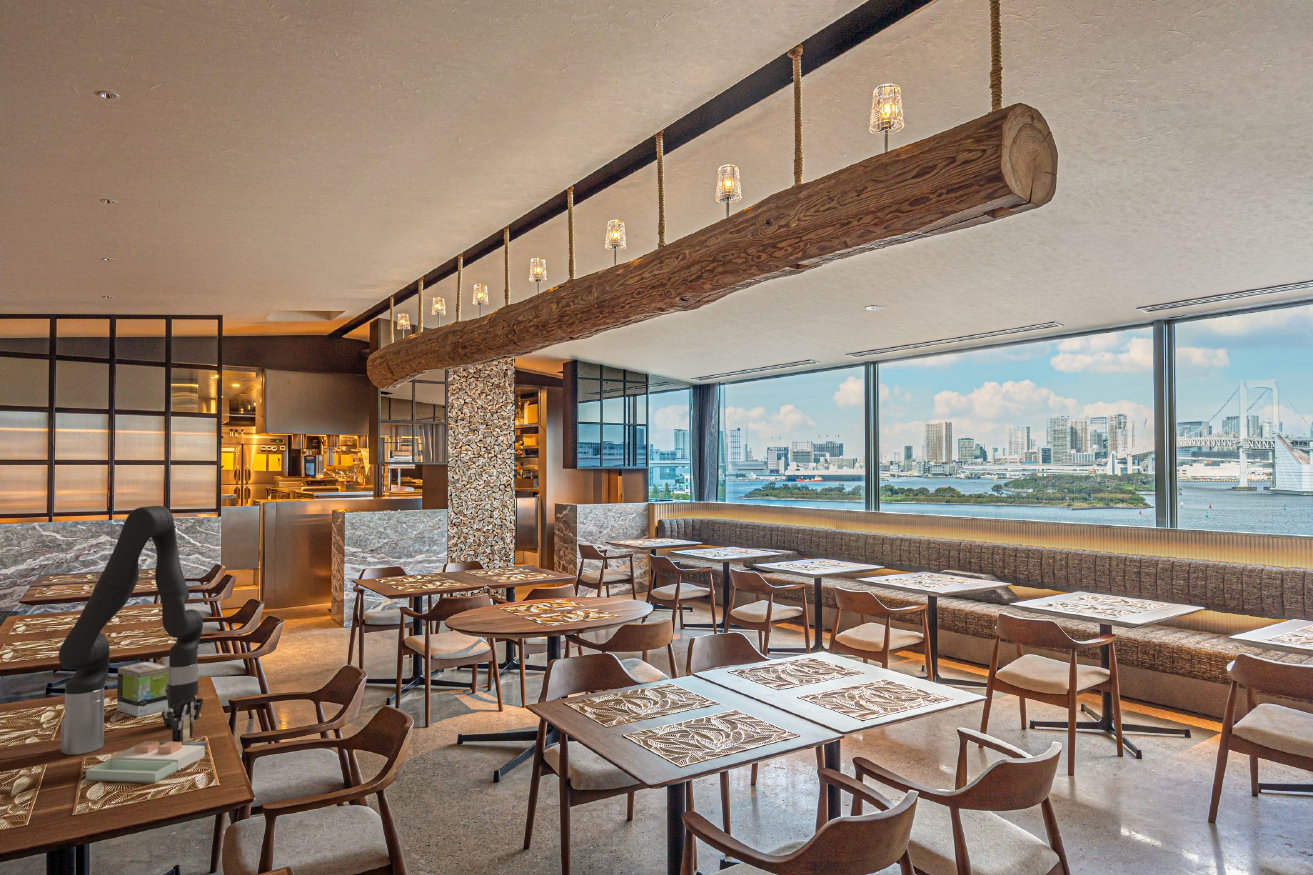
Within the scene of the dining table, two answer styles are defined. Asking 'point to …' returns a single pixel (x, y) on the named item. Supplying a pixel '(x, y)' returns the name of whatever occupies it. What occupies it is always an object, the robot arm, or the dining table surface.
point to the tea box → (142, 688)
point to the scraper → (187, 734)
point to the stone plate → (166, 755)
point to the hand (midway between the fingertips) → (182, 739)
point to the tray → (131, 771)
